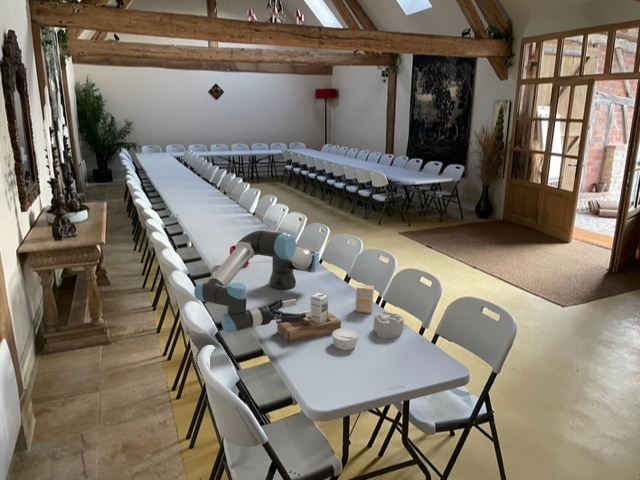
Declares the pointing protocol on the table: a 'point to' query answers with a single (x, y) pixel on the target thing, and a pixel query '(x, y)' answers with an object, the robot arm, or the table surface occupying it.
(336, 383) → the table surface
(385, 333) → the lumpy-topped squat cylinder
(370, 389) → the table surface
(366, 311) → the supplement box
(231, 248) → the plant pot
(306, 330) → the wooden divided tray
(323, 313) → the syrup box
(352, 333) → the ramekin
